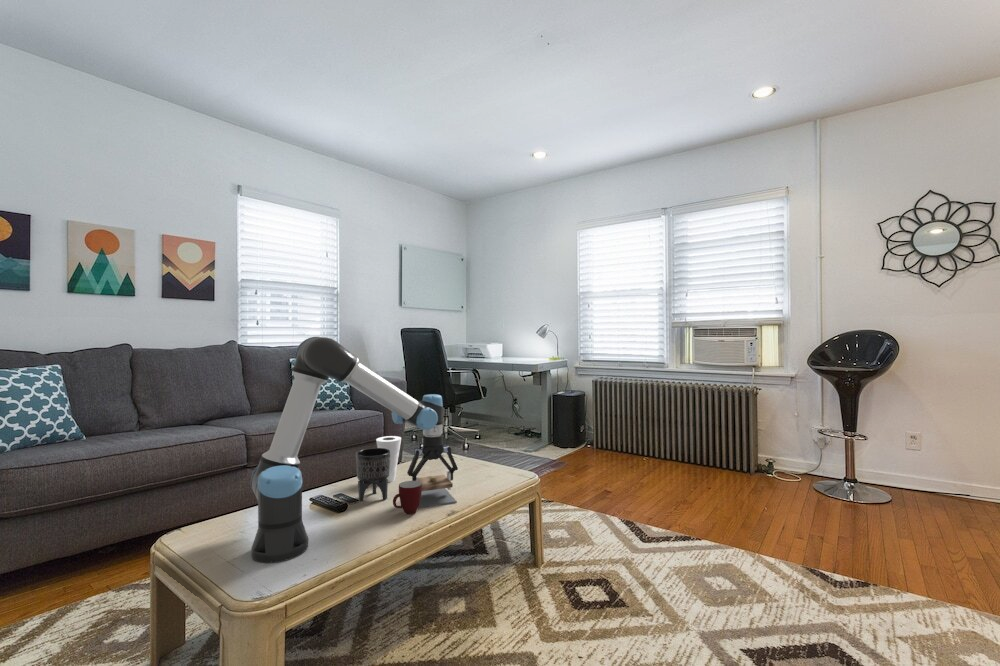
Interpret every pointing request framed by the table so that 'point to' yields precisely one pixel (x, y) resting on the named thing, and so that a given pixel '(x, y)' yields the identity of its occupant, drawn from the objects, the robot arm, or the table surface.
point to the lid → (435, 482)
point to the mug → (409, 496)
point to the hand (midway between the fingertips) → (433, 491)
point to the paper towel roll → (391, 452)
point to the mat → (436, 498)
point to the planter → (373, 470)
